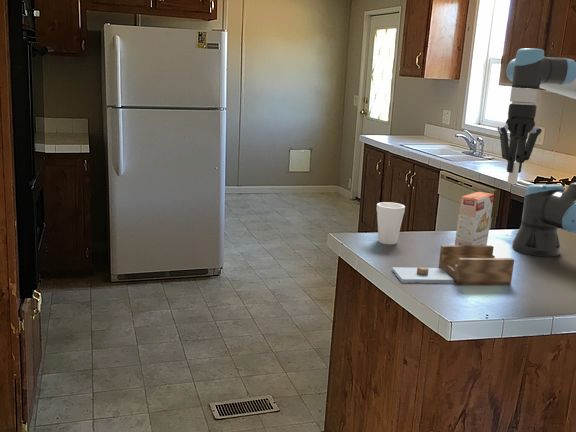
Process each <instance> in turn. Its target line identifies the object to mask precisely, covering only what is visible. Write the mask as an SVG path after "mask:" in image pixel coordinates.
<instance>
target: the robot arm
mask: <svg viewBox="0 0 576 432" xmlns="http://www.w3.org/2000/svg"><path fill="white" fill-rule="evenodd" d="M506 66H507V67H506V70H505V74H506V77H507V79H508V80H509V81H510V82H511V91H510V98H509V102H511V103H509V105H508V112H507V119H506V121H505V124H504V125H501V126H498V127H497V131H498V134H499V138H500V149H501V158H502V159H503V160H506V161H507V166H506V172H507V173H508V178H507V183H508V184H510V185H518V178H519V177H518V176H519V174H520V173H521V172H522V165H523V164H524V163H525V161H529V160H530V158H531V155H532V153H533V151H534V150H533V149H534V148H535V144H536V142H537V140H538V137H539V135H540V134H541V133H542V129H541V128H540V127H537V126H536V122H535V118H536V115H537V107H538V106H537V105H536V104H537V103H538V100H539V95H540V94H539V93H540V89H543V90H545V91H549V92H552V93H555V94H558V95H560V96H561V95H562V96H565V97H568V98H570V99H574V100H576V61H575V60H574V59H572V58H567V57H547V56H545V50H544V49H541V48H529V47H528V48H526V47H525V48H519V49H518V50H517V51H516V55H515V58H513V59H511V60H510V61H509V62H508V64H507V65H506ZM508 133H509V135H508ZM528 135H529V136H528ZM523 200H524V201H523V208H522V216H521V221H520V222H521V223H520V227H519V229H518V231H517V233H516V234H515V237H514V239H513V240H512V245H511V246H512V249H513V250H515V251H517V252H518V253H519V252H520V253H522V254H527V255H529V256H536V257H546V258H547V257H550V258H551V257H556V256H559V255H560V253H561V244H560V240H559V234H558V228H559V229H561V230H565V231H567V233H570V234H576V182H571V183H570V184H569V185H568V186H567V188H566V189H565V187H564V185H563V184H545V183H544V184H535V183H534V184H529V185H528V186H527V187H526V190H525V194H524V199H523Z"/></svg>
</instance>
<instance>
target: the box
mask: <svg viewBox="0 0 576 432" xmlns="http://www.w3.org/2000/svg"><path fill="white" fill-rule="evenodd" d="M493 254H494V246H493V245H487V246H485V245H455V244H453V245H452V244H440V252H439V261H438V268H442V269H443V270H444V271H445V272H446V273H447V274H448V275H449V276H450V277H452V278H453V279H454V283H453V284H455V285H457V286H511V285H512V278H513V271H514V266H515V265H514V264H515V259H514V258H511V257H496V256H495V255H493Z"/></svg>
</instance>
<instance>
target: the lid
mask: <svg viewBox="0 0 576 432" xmlns="http://www.w3.org/2000/svg"><path fill="white" fill-rule="evenodd" d="M391 271H392V272H394V273H395V274H394V273H393V274H394V275H395V276H396V278H397V279H398V278H399V279H398V280H399V281H400V283H401V284H402V283H403V284H409V283H408V282H421V283H420V284H455V283H454V279H453V278H452V277H450V276H449V275H448V274H447V273H446V272H445V271H444V270H443V269H442V268H439V267H424V266H419V267H401V266H400V267H396V266H395V267H394V266H392V268H391ZM406 282H407V283H406Z"/></svg>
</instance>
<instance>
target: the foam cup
mask: <svg viewBox="0 0 576 432" xmlns="http://www.w3.org/2000/svg"><path fill="white" fill-rule="evenodd" d="M405 209H406V206H405V204H402V203H397V202H391V201H389V202H387V201H386V202H385V201H383V202H378V203H377V204H376V213H377V214H376V219H377V236H378V237H377V239H378V242H379V243H381V244H383V245H396V244H397V243H398V240H399V235H400V233H401V232H400V231H401V226H402V222H403V218H404V214H405V212H406V210H405Z"/></svg>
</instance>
